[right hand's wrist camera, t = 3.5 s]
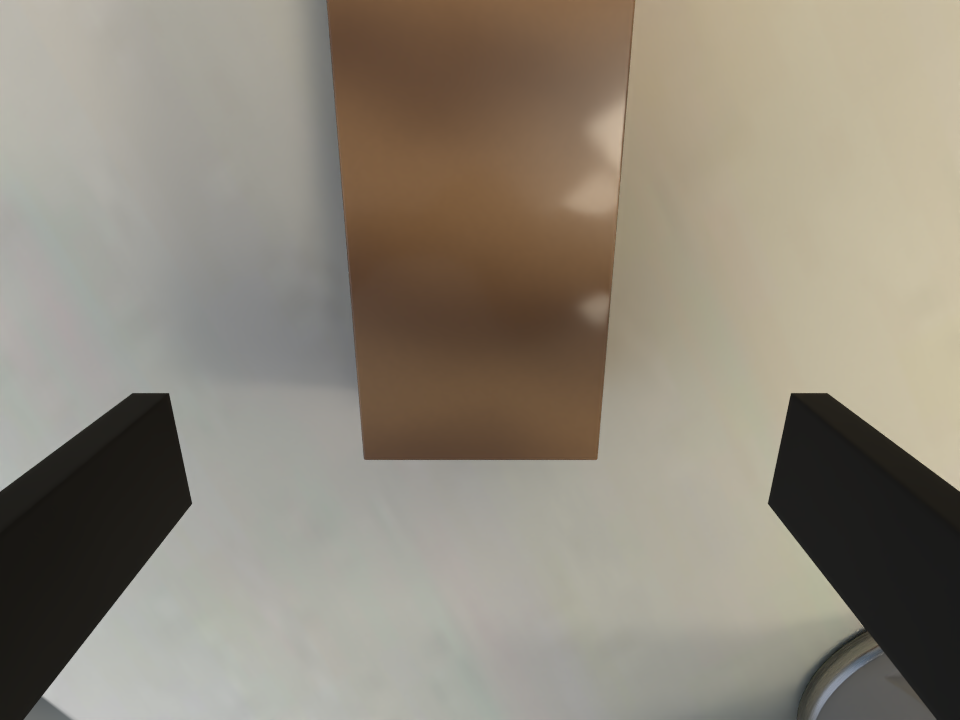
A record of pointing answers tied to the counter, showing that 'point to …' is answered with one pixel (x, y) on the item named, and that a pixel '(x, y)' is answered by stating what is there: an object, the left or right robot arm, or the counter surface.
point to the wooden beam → (480, 219)
